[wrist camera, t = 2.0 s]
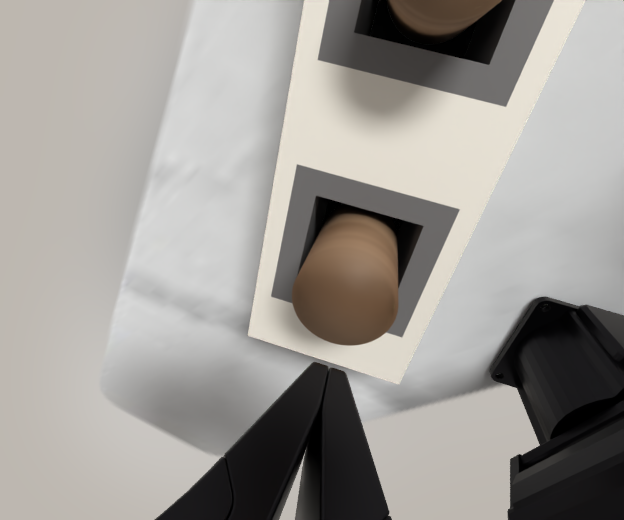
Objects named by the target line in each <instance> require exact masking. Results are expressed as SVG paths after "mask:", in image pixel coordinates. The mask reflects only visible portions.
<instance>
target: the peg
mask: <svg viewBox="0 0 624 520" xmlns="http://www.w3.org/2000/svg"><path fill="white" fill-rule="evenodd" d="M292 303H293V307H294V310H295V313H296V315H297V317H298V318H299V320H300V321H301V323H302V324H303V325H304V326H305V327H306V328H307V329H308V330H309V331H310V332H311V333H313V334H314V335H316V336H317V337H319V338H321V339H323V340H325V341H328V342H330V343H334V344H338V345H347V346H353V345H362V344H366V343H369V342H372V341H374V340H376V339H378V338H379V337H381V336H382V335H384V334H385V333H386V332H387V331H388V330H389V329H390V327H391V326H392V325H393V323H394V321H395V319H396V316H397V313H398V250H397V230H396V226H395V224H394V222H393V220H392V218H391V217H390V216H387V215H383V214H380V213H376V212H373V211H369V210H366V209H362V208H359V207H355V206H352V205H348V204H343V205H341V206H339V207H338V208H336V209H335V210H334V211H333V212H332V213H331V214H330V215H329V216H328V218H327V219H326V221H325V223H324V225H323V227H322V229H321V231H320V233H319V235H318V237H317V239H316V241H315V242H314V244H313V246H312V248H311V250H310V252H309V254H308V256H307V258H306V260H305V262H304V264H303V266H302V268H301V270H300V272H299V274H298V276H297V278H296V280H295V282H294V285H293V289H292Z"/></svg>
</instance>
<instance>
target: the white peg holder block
mask: <svg viewBox="0 0 624 520" xmlns="http://www.w3.org/2000/svg"><path fill="white" fill-rule="evenodd" d="M585 1H586V0H502V1H501V2H500V3H498V4H497V5H496V6H495V7H493V8H492V9H491V10H490V11H488V12H487V13H486V14H485V15H483V16H482V17H481V18H480V19H478V21H477V24H476V27H475V29H474V32H473V35H472V37H471V40H470V43H469V45H468V48H467V51H466V53H465V56H464V59H462V58H458V57H453V56H449V55H445V54H441V53H437V52H433V51H428V50H424V49H420V48H416V47H412V46H408V45H403V44H399V43H395V42H391V41H387V40H383V39H378V38H374V37H370V35H371V31H372V27H373V23H374V19H375V15H376V11H377V7H378V3H379V0H304V4H303V10H302V16H301V22H300V28H299V34H298V40H297V46H296V52H295V58H294V64H293V70H292V76H291V82H290V87H289V93H288V99H287V105H286V111H285V117H284V123H283V129H282V135H281V141H280V147H279V153H278V159H277V165H276V170H275V176H274V182H273V188H272V194H271V200H270V206H269V212H268V218H267V224H266V230H265V236H264V242H263V248H262V253H261V259H260V265H259V271H258V277H257V283H256V289H255V295H254V301H253V307H252V313H251V319H250V325H249V331H248V336H250V337H253V338H256V339H259V340H263V341H266V342H269V343H272V344H275V345H278V346H281V347H284V348H287V349H290V350H293V351H297V352H300V353H303V354H306V355H309V356H312V357H315V358H318V359H321V360H324V361H327V362H331V363H334V364H337V365H340V366H343V367H346V368H349V369H352V370H355V371H358V372H361V373H365V374H368V375H371V376H374V377H377V378H380V379H383V380H386V381H389V382H392V383H395V384H400V382H401V379H402V377H403V375H404V373H405V371H406V369H407V367H408V365H409V363H410V361H411V359H412V357H413V355H414V353H415V351H416V349H417V347H418V344H419V342H420V340H421V338H422V336H423V334H424V332H425V330H426V328H427V326H428V324H429V322H430V320H431V318H432V316H433V314H434V312H435V309H436V307H437V305H438V303H439V301H440V299H441V297H442V295H443V293H444V291H445V289H446V287H447V285H448V283H449V281H450V279H451V277H452V274H453V272H454V270H455V268H456V266H457V264H458V262H459V260H460V258H461V256H462V254H463V252H464V250H465V248H466V246H467V244H468V241H469V239H470V237H471V235H472V233H473V231H474V229H475V227H476V225H477V223H478V221H479V219H480V217H481V215H482V213H483V211H484V209H485V206H486V204H487V202H488V200H489V198H490V196H491V194H492V192H493V190H494V188H495V186H496V184H497V182H498V180H499V178H500V176H501V174H502V171H503V169H504V167H505V165H506V163H507V161H508V159H509V157H510V155H511V153H512V151H513V149H514V147H515V145H516V143H517V141H518V139H519V136H520V134H521V132H522V130H523V128H524V126H525V124H526V122H527V120H528V118H529V116H530V114H531V112H532V110H533V108H534V106H535V103H536V101H537V99H538V97H539V95H540V93H541V91H542V89H543V87H544V85H545V83H546V81H547V79H548V77H549V75H550V73H551V71H552V68H553V66H554V64H555V62H556V60H557V58H558V56H559V54H560V52H561V50H562V48H563V46H564V44H565V42H566V40H567V38H568V36H569V33H570V31H571V29H572V27H573V25H574V23H575V21H576V19H577V17H578V15H579V13H580V11H581V9H582V7H583V5H584V3H585ZM329 199H330V200H334V201H337V202H341V203H345V204H348V205H352V206H355V207H359V208H362V209H366V210H369V211H373V212H376V213H380V214H383V215H387V216H390V217H394V218H398V219H401V220H403V223H402V225H401V228H400V231H399V233H398V236H397V250H398V313H397V316H396V319H395V321H394V323H393V325H392V326H391V327H390V329H389V330H388V331H387V332H386V333H385V334H384V335H382V336H381V337H379V338H378V339H376V340H374V341H372V342H369V343H366V344H362V345H353V346H347V345H338V344H334V343H330V342H328V341H325V340H323V339H321V338H319V337H317V336H316V335H314V334H313V333H311V332H310V331H309V330H308V329H307V328H306V327H305V326H304V325H303V324H302V323H301V321H300V320H299V318H298V317H297V315H296V313H295V310H294V307H293V303H292V289H293V285H294V282H295V280H296V278H297V276H298V274H299V272H300V270H301V268H302V266H303V264H304V262H305V260H306V258H307V256H308V254H309V252H310V250H311V248H312V246H313V244H314V242H315V241H316V239H317V237H318V235H319V233H320V231H321V228H322V224H323V220H324V216H325V213H326V209H327V205H328V201H329Z"/></svg>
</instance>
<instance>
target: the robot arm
mask: <svg viewBox="0 0 624 520" xmlns="http://www.w3.org/2000/svg"><path fill="white" fill-rule="evenodd" d="M544 304H548V305H547V306H546V307H545V308H541V306H542V305H544ZM328 369H329V368H328V366H326V365H323V364H320V363H317V362H313V363H312V364H311V365H310V366H309V367H308V368H307V369H306V370H305V371H304V372H303V373H302V374H301V375H300V376H299V377H298V378H297V379H296V380H295V381H294V382H293V383H292V384H291V385H290V386H289V388H288V389H287V390H286V391H285V392H284V393H283V394H282V395H281V396H280V397H279V398H278V399H277V400H276V401H275V402H274V403H273V404H272V405H271V406H270V407H269V408H268V409H267V410H266V412H265V413H264V414H263V415H262V416H261V417H260V418H259V419H258V420H257V421H256V422H255V423H254V424H253V425H252V426H251V427H250V428H249V429H248V430H247V431H246V432H245V433H244V434H243V436H242V437H241V438H240V439H239V440H238V441H237V442H236V443H235V444H234V445H233V446H232V447H231V448H230V449H229V450H228V451H227V452H226V453H225V455H224V457H221V458H220V459H219V461H217V462H216V463H215V464H214V466H213V467H212V468H211V469H210V470H209V471H208V472H207V473H206V474H205V475H204V476H203V477H202V478H201V479H200V480H199V481H198V482H197V483H195V485H193V486H192V487H191V488H190V490H189V491H187V492H186V493H185V494H184V495H183V496H182V497H181V498H179V499H178V500H177V501H176V502H175V503H174V504H172V505H171V506H170V507H169V508H168V509H167V510H166V511H164V512H163V513H162V514H161V515H160V516H158V517H157V518H156V519H155V520H279V518H280V516H281V513H282V510H283V508H284V505H285V503H286V500H287V498H288V495H289V493H290V490H291V488H292V485H293V482H294V480H295V477H296V475H297V472H298V470H299V467H300V464H301V462H302V459H303V456H304V453H305V456H304V462H303V467H302V475H301V481H300V488H299V495H298V502H297V509H296V517H295V520H392V519H391V517H390V516H388V515H389V510H388V506H387V503H386V500H385V497H384V494H383V490H382V488H381V484H380V481H379V478H378V474H377V471H376V468H375V465H374V462H373V458H372V455H371V452H370V449H369V445H368V442H367V439H366V436H365V433H364V430H363V426H362V423H361V420H360V416H359V413H358V410H357V407H356V404H355V400H354V397H353V394H352V391H351V387H350V384H349V381H348V378H347V375H346V373H345V372H344V371H341V370H338V369H335V368H330V369H329V370H328ZM497 373H501V374H499V375H498V374H497ZM490 375H491V378H492V379H493V380H494V381H496V382H500V383H503V384H506V385H509V386H512V387H516V388H517V389H518V392H519V394H520V397H521V399H522V402H523V404H524V406H525V409H526V412H527V414H528V416H529V419H530V422H531V424H532V426H533V429H534V431H535V434H536V436H537V439H538V441H539V444H540V446H538V447H536V448H535V449H533V450H531V451H529V452H527V453H525V454H523V455H520V454H519V455H517V456H515V457H513V458H511V459H510V509H508V520H624V316H623V315H620V314H616V313H613V312H610V311H606V310H603V309H599V308H596V307H592V306H589V305H581V306H576V305H573V304H569V303H566V302H562V301H559V300H556V299H552V298H549V297H540V298H538V299H536V300H535V301H534V303H533V304H532V306H531V307H530V309H529V310H528V312H527V313H526V315H525V316H524V318H523V320H522V321H521V323H520V324H519V326H518V327H517V329H516V330H515V332H514V333H513V335H512V337H511V338H510V340H509V341H508V343H507V344H506V346H505V347H504V349H503V350H502V352H501V354H500V355H499V357H498V358H497V360H496V361H495V363H494V364H493V366H492V367H491V369H490ZM306 447H307V448H306ZM305 450H306V452H305Z"/></svg>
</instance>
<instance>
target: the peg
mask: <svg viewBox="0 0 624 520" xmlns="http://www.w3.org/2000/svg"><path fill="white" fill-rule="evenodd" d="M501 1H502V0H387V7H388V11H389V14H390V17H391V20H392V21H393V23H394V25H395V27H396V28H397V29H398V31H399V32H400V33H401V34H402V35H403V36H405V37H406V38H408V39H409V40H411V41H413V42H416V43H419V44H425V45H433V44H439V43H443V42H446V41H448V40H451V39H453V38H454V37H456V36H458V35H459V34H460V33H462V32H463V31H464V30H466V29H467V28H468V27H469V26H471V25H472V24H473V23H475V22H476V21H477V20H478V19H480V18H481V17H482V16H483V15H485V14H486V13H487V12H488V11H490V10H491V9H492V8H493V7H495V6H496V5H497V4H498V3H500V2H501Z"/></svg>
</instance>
